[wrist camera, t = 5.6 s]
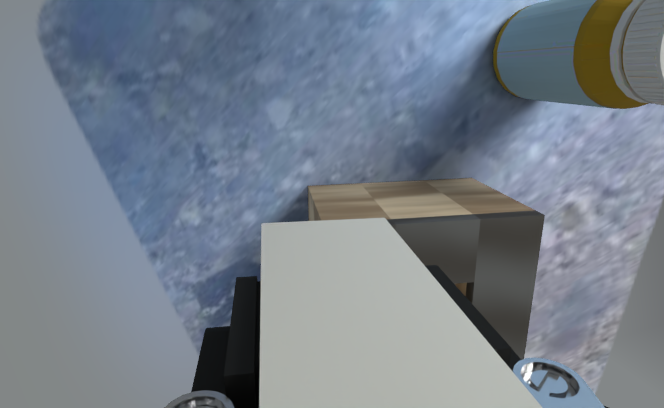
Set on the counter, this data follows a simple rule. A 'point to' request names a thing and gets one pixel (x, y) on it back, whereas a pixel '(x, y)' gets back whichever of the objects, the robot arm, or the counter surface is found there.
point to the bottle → (584, 52)
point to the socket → (455, 239)
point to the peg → (367, 326)
